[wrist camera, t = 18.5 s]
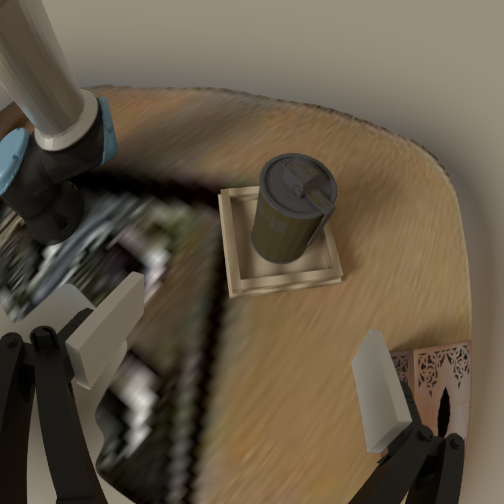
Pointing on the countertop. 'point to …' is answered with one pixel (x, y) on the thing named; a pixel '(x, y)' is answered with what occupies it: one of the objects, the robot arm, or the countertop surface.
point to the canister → (291, 206)
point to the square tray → (260, 270)
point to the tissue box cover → (439, 386)
